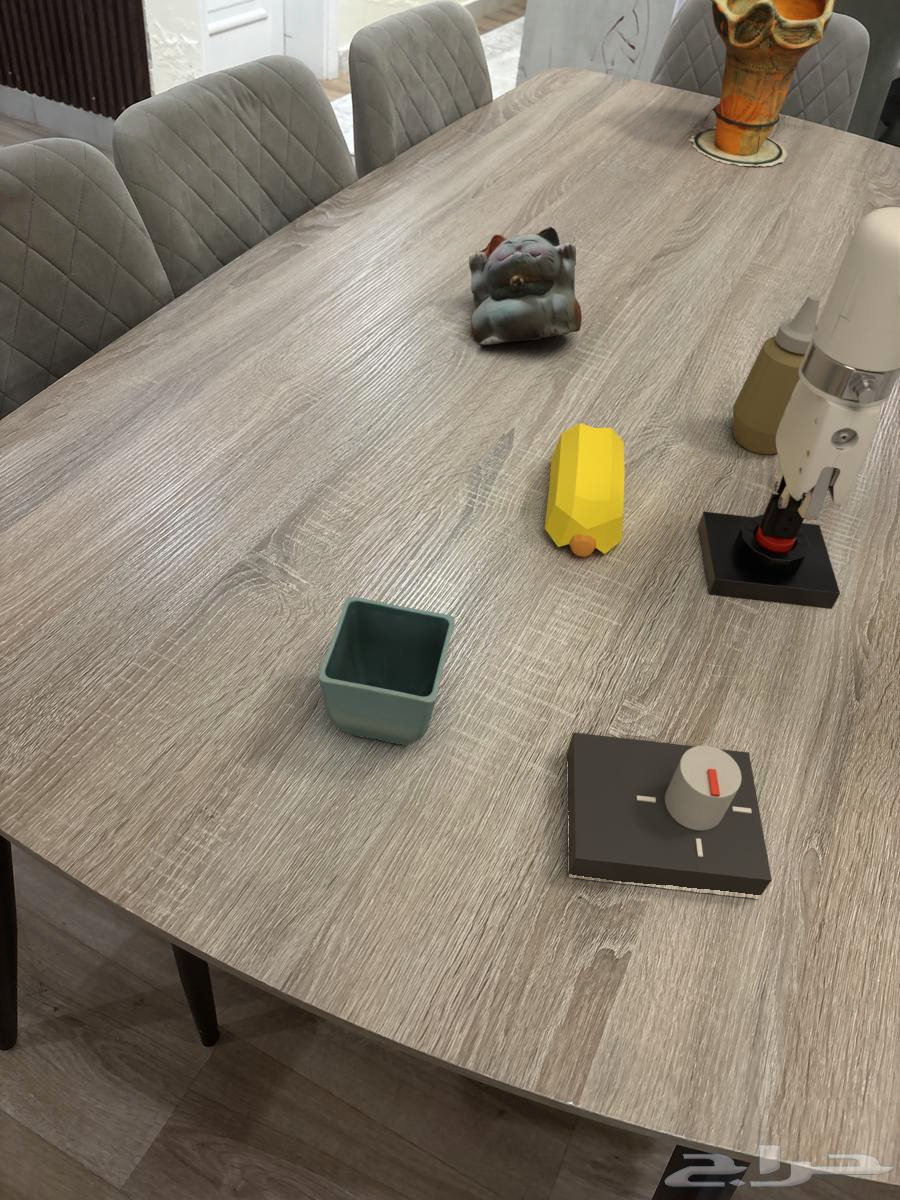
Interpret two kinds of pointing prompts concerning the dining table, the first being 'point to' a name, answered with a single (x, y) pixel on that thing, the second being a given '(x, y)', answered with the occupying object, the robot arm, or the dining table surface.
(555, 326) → the lucky cat figurine
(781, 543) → the button
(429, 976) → the dining table surface
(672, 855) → the panel
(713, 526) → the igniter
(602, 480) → the yellow faceted bar
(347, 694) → the flower pot
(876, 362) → the robot arm
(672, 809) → the burner knob
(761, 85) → the decorative vase
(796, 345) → the squeeze bottle
